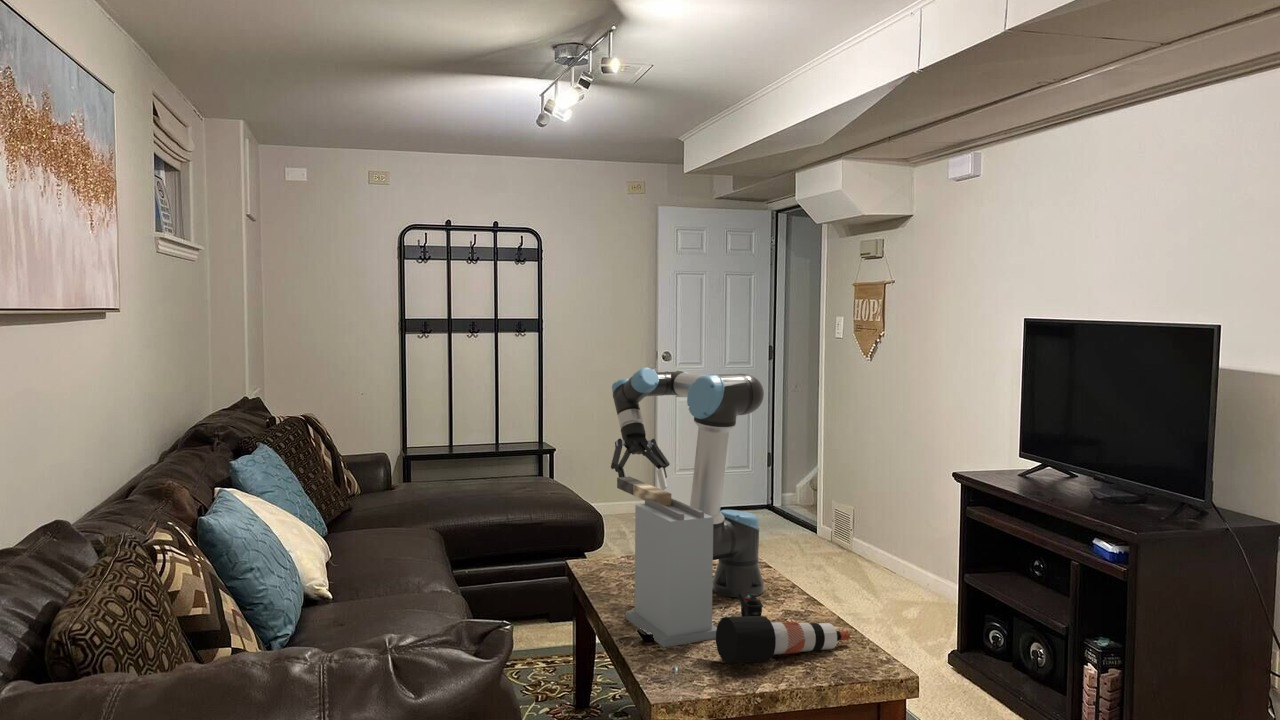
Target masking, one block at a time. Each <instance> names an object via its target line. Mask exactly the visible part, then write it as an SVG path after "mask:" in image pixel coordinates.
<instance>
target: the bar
mask: <svg viewBox="0 0 1280 720" xmlns="http://www.w3.org/2000/svg"><path fill="white" fill-rule="evenodd" d="M616 483H617V484H616V487H617V489H618V490H621V491H623V492H624V493H628V494H629V495H631V496H634V497H636V498H638V499H640V500H643V501H645V498H649V499H651V500H654V501H656V502H658V503H660V504H663V505H665V506H667V505H671V498H672V493H671V492H668V491H665V489H664V490H661V488H658V487H656V486H654V485H652V484H649V483H646V482H645V481H642V480H639V479H638V478H637V479H636V478H635V477H631V476H628V477H619V476H618V477H616Z"/></svg>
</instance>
